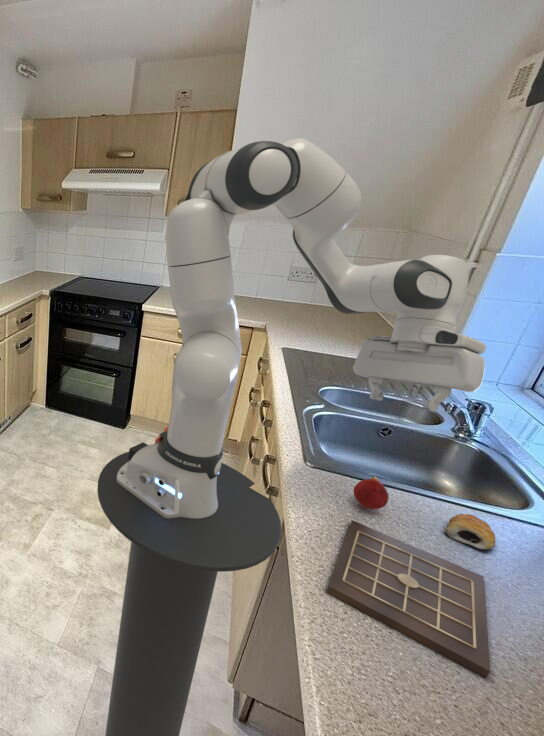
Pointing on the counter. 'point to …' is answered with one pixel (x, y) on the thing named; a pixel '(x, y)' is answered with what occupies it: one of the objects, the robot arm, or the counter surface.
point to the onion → (371, 493)
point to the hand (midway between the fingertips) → (400, 404)
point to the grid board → (415, 594)
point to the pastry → (471, 531)
